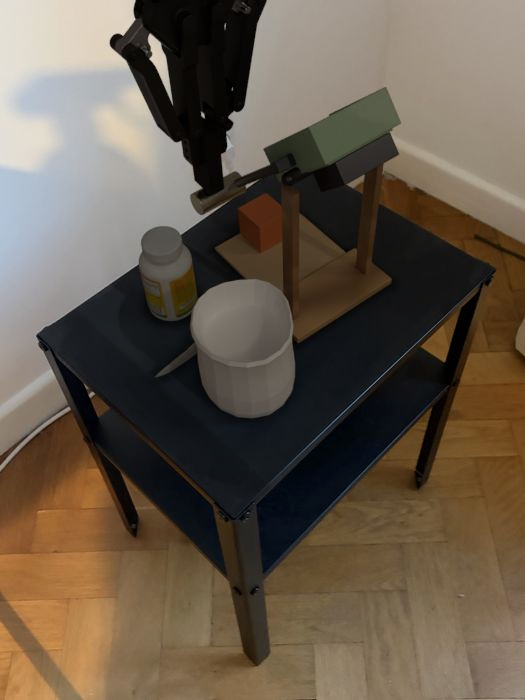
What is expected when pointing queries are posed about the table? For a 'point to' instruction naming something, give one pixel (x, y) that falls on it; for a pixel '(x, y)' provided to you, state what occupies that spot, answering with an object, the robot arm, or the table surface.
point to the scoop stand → (330, 266)
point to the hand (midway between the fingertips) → (209, 184)
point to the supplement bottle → (167, 274)
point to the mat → (280, 255)
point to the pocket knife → (179, 360)
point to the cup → (245, 347)
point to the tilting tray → (322, 151)
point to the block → (261, 222)
